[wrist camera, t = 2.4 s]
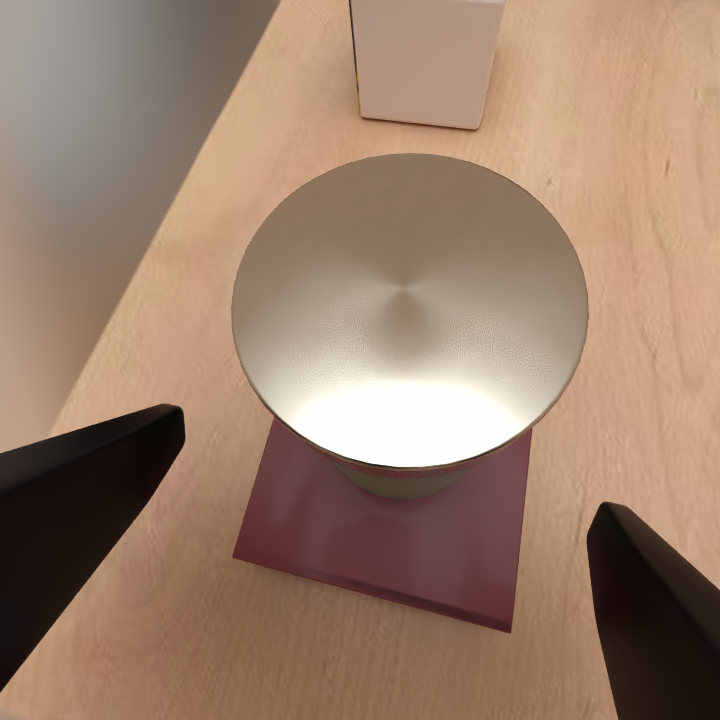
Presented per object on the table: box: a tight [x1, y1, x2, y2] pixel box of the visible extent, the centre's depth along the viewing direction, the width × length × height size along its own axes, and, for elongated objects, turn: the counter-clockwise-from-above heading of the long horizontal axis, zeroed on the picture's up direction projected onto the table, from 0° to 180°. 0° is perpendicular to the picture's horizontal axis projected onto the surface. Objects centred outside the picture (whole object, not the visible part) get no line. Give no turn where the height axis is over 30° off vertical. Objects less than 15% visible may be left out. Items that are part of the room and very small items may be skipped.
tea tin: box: [231, 153, 589, 499], centre depth 13 cm, size 7×7×10 cm
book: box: [232, 416, 532, 633], centre depth 19 cm, size 13×10×2 cm
